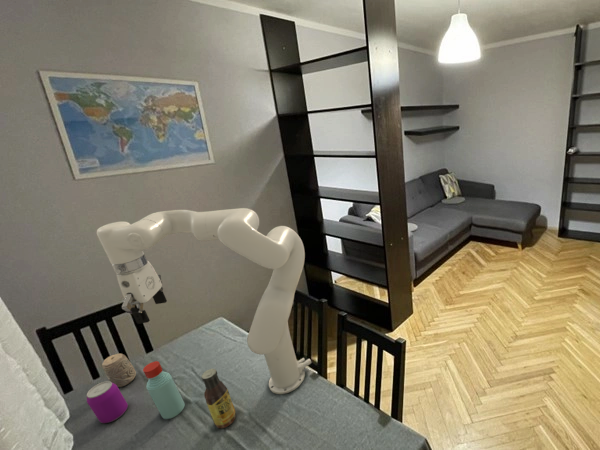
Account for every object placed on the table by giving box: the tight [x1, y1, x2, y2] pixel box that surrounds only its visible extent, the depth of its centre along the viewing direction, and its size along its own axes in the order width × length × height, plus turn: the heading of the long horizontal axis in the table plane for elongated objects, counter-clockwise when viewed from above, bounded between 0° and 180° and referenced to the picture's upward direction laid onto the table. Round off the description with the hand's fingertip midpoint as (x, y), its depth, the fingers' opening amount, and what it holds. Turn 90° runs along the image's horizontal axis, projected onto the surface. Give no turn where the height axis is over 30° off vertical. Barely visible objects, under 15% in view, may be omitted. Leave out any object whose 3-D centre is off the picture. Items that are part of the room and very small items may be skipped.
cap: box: [142, 360, 163, 379], centre depth 100 cm, size 4×4×3 cm
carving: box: [101, 352, 137, 388], centre depth 117 cm, size 6×8×12 cm
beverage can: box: [86, 380, 129, 424], centre depth 105 cm, size 8×8×12 cm
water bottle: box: [146, 371, 186, 420], centre depth 103 cm, size 7×7×20 cm
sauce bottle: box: [200, 368, 237, 429], centre depth 98 cm, size 6×6×20 cm
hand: (153, 312), depth 96 cm, fingers open, 9 cm apart
